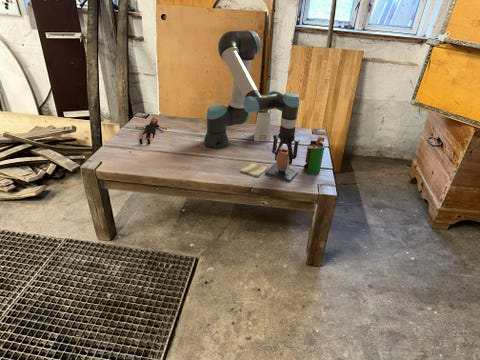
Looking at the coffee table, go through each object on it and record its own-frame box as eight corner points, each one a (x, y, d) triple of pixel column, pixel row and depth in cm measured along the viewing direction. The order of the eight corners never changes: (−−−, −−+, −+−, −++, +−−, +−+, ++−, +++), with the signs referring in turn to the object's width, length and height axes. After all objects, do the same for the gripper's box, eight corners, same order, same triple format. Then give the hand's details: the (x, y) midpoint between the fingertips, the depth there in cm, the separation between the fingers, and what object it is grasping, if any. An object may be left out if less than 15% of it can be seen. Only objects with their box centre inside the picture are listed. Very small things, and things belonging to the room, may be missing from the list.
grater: (270, 141, 205) (273, 111, 195) (254, 140, 205) (256, 110, 195) (269, 135, 214) (272, 106, 204) (253, 134, 214) (256, 105, 204)
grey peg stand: (265, 174, 169) (267, 153, 162) (274, 166, 177) (276, 145, 171) (289, 182, 163) (293, 160, 157) (297, 173, 171) (301, 152, 165)
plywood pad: (240, 171, 170) (240, 169, 170) (249, 163, 178) (250, 161, 178) (258, 177, 166) (258, 175, 165) (267, 168, 174) (267, 167, 173)
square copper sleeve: (276, 167, 167) (278, 151, 162) (280, 163, 171) (282, 147, 166) (285, 169, 165) (287, 154, 160) (288, 165, 169) (291, 150, 164)
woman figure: (126, 138, 189) (139, 115, 218) (128, 147, 192) (140, 123, 221) (161, 139, 190) (169, 116, 219) (162, 148, 194) (170, 124, 223)
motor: (301, 165, 179) (306, 132, 168) (316, 165, 180) (323, 132, 169) (305, 175, 170) (312, 140, 160) (322, 175, 171) (329, 140, 161)
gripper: (267, 124, 157) (263, 165, 169) (302, 132, 149) (296, 175, 162) (274, 119, 163) (269, 160, 175) (308, 127, 155) (301, 169, 167)
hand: (282, 167), depth 168 cm, fingers open, 5 cm apart
